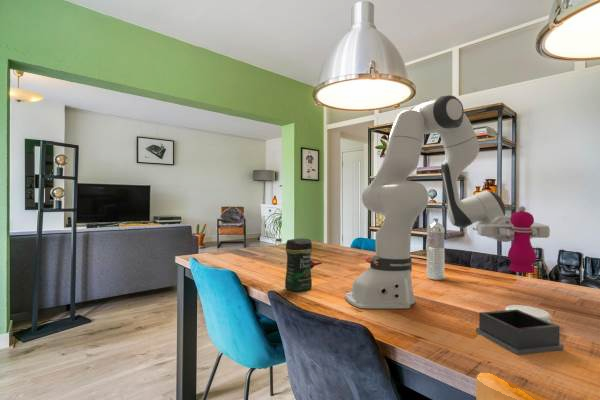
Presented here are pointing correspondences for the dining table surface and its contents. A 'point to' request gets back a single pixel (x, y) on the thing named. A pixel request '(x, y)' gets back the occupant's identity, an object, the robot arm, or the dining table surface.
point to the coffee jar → (298, 265)
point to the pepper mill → (522, 243)
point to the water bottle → (435, 251)
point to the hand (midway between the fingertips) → (523, 233)
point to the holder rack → (519, 331)
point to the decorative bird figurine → (314, 264)
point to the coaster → (531, 311)
